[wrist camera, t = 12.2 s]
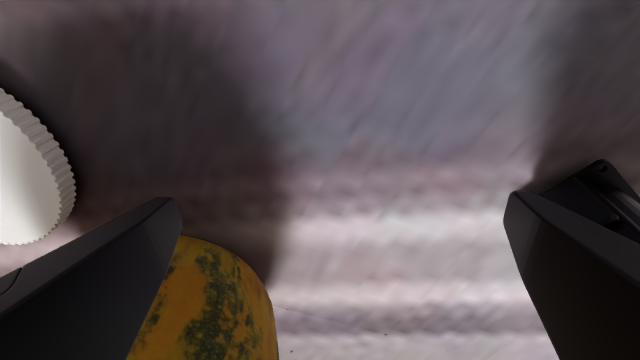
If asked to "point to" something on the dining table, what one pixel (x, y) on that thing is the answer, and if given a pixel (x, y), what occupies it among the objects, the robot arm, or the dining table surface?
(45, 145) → the plastic lid
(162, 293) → the pumpkin
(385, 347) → the dining table surface
